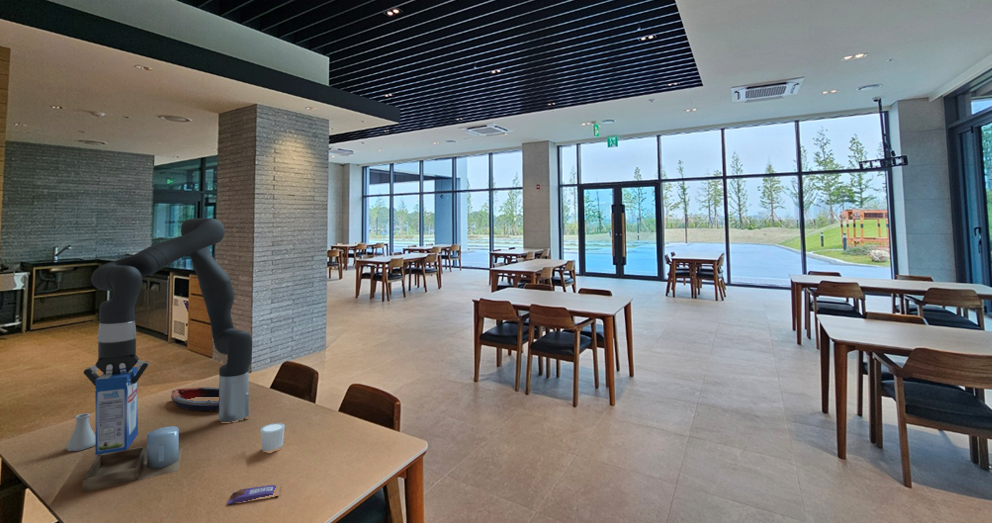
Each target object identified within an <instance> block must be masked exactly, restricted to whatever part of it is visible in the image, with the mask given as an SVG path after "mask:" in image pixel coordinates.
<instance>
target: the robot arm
mask: <svg viewBox="0 0 992 523" xmlns="http://www.w3.org/2000/svg"><path fill="white" fill-rule="evenodd" d="M225 234H226V231H225V227H224V224H223V223H222V222H221V221H220V220H218V219H216V218H211V217H201V218H199V217H198V218H188V219H186V220H184V221H183V222H182V224H181V226H180V235H181V236H177V237H174V238H171V239H167V240H164V241H161V242H158V243H155V244H152V245H151V246H148V247H146V248H144V249H142V250H139V251H138V252H136V253H134V254H132V255H129V256H126V257H123V258H122V257H121V258H118V259H116V260H112V261H110V262H107V263H104V264H102V265H101V266H98V268H96V269H95V270H94V271H93V273H92V275H91V278H90V281H91V284H92V286H94V288H96V289H97V290H101V291H106V292H109V291H110V292H112V296H111V298H110V299H109V300H108V299H107V300H105V301H103V302H101V303H100V305H99V314H98V316H99V318H98V320H99V323H98V324H99V325H98V330H97V331H98V332H97V340H98V341H97V344H98V345H97V349H98V351H97V352H98V353H97V354H98V355H97V356H98V359H97V361H96V362H95V364H94V365H92V366H90V367H89V366H88V367H86V368H85V369H84V370H83V374H84V375H85V377H86V378H87V379H88V380H89V381H90V382H91V384H92V385H93V386H95V380H96V379H97V378H98V377H100V376H99V375H98V370H99V371H101V372H102V374H105V375H106V376H108V375H112V374H126V373H128V372H129V371H130V370H131V369H132V368H133V367H137V369H138V372H137V374H136V375H135V376H134V378H133V379H132V384H135V383H136V382H137V381H138V382H139V379H140V378H141V376H142V375H143V374H144V373H145V370H146V369H147V368H148V366H149V365H150V362H149V361H148V360H147V361H143V360H140V359H139V357H138V356H137V328H136V320H135V318H136V312H135V311H136V310H135V309H136V308H135V307H136V303H137V301H138V298H139V295H140V292H141V288H142V285H143V277H147V276H152V275H153V274H155V273H157V272H159V271H160V270H162V269H164V268H166V267H167V266H169V265H170V264H173V263H175V262H177V261H178V260H180V259H182V258H185V257H186V256H189V257H190V260H191V262H192V265H193V268H194V271H195V274H196V277H197V280H198V285H199V289H200V293H201V296H202V298H203V302H204V304H205V307H206V312H207V316H208V318H209V321H210V326H211V328H210V329H211V333H212V340H213V345H214V348H215V350H216V351H217V352H218V353H219V354H223V355H226V356H227V359H226V360H227V361H226V363H225V364H223V365H221V366H220V367H219V370H218V371H219V372H218V376H219V377H218V382H219V383H218V388H219V410H218V422H219V421H221V422H232V421H236V420H239V419H242V418H244V417H247V416H249V415H250V391H249V389H250V388H249V387H250V386H249V385H250V384H249V383H250V382H249V380H250V379H249V378H250V374H249V373H250V372H249V371H250V367H251V366H250V365H252V356H253V339H252V336H251V334H250V333H249V331H245V330H239V329H236V328H235V326H234V323H233V320H232V308H233V306H234V305H233V304H234V301H235V291H234V288H233V284H232V281H231V280H232V279H231V278H230V276H229V274H228V273H227V272H226V270H224V268H223V267H222V266H221V265H220V264H218V262H217V261H216V260H215V258H214V257H213V255H212V254H211V251H210V248H209V247H211V246H214V245H216V244H219V243H221V242H222V240H223V239H224V237H225ZM136 365H137V366H136ZM249 417H250V416H249Z"/></svg>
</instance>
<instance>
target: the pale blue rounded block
mask: <svg viewBox="0 0 992 523" xmlns="http://www.w3.org/2000/svg"><path fill="white" fill-rule="evenodd" d="M179 432H180V431H179V427H177V426H165V427H159V428H157V429H153V430H151V431H149V432H148V433H147V434H146V446H147V468H149V469H159V468H164V467H167V466H170V465H172V464H174V463H175V462H177V461H178V456H179V448H180V447H179V446H180V445H179V442H180V441H179V440H180V439H179V438H180V437H179Z"/></svg>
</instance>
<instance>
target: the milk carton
mask: <svg viewBox="0 0 992 523" xmlns="http://www.w3.org/2000/svg"><path fill="white" fill-rule="evenodd" d="M138 371H139V369H137V366H134V367H133V368H132V369H131V370H130V371H129V372H128V373H126V374H112V375H108V376H106V375H105V374H104V373H102V374H101V375H100V376H99V377H98V378H97V379H96V380H95V388H94V389H95V390H94V391H95V392H94V394H95V399H94V400H95V401H94V402H95V406H94V407H95V408H94V409H95V412H94V413H95V416H94V418H95V419H94V420H95V424H94V425H95V427H94V429H95V430H94V431H95V432H94V434H95V445H94V446H95V447H94V448H95V449H94V450H95V454H94V455H95V456H98V455H100V454H105V453H111V452H117V451H123V450H127V449H130V448H129V447H130V446H131V445H132V444H133V443H134V441H135V439H136V438H137V436H138V435H139V380H138V381H137V382H136V383H135V384H132V379H133V378H134V376H135V375H136V374H137V372H138Z"/></svg>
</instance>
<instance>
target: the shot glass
mask: <svg viewBox="0 0 992 523" xmlns="http://www.w3.org/2000/svg"><path fill="white" fill-rule="evenodd" d="M285 427H286V425H285V424H284V423H281V422H274V423H269V424H266V425H264V426H262V427H261V428H260V438H261V447H262V449H261V450H264V451H270V450H274V449H277V448H279V447H281V446H282V445H283V446H284V444H283V443H284V435H285V429H286V428H285Z"/></svg>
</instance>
